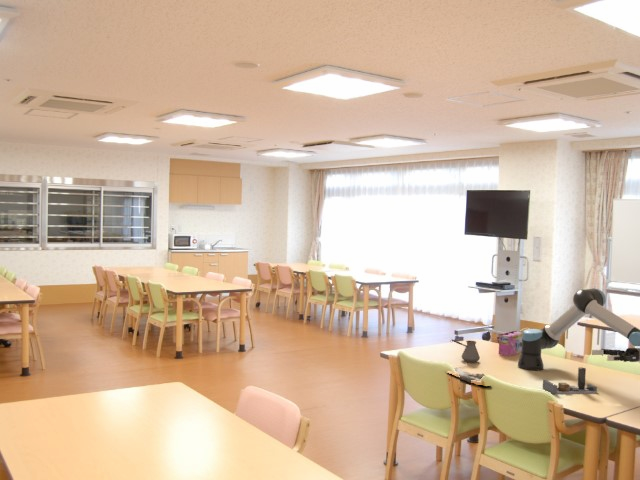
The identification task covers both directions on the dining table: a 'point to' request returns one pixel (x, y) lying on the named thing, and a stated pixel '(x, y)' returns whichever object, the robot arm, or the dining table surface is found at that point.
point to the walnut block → (563, 387)
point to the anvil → (550, 387)
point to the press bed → (590, 387)
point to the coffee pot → (469, 352)
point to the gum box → (510, 343)
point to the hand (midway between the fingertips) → (599, 355)
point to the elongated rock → (468, 376)
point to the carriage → (580, 381)
